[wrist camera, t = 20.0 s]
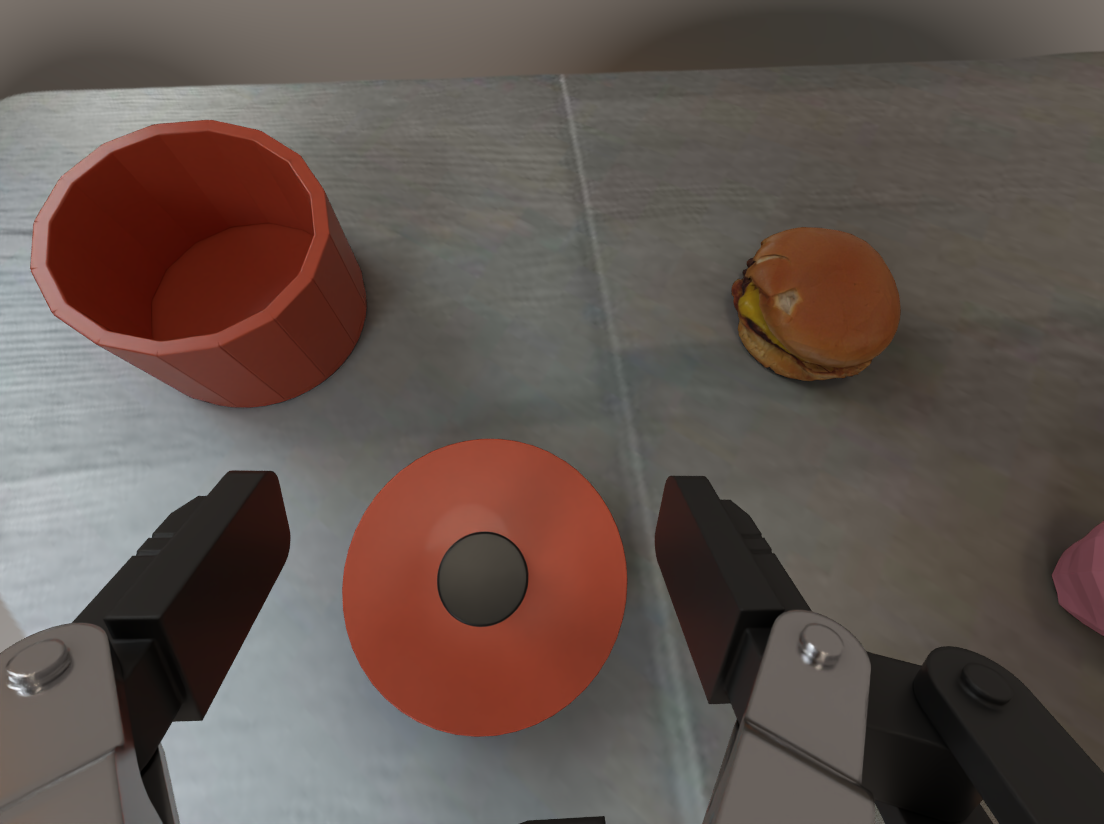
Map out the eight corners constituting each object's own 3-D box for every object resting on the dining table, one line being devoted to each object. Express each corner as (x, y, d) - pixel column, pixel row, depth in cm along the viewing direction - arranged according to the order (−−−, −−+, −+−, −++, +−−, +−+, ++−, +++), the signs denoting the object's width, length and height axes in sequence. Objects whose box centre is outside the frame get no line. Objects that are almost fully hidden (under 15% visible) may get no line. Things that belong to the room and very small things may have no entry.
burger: (893, 329, 34) (951, 294, 30) (809, 415, 32) (859, 390, 27) (785, 231, 36) (824, 183, 31) (696, 305, 33) (726, 264, 29)
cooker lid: (527, 793, 23) (548, 958, 13) (288, 621, 24) (143, 655, 14) (668, 534, 27) (763, 513, 17) (457, 397, 28) (435, 305, 18)
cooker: (268, 449, 28) (189, 408, 21) (94, 331, 29) (-38, 252, 22) (408, 287, 32) (382, 206, 25) (250, 187, 33) (181, 80, 26)
